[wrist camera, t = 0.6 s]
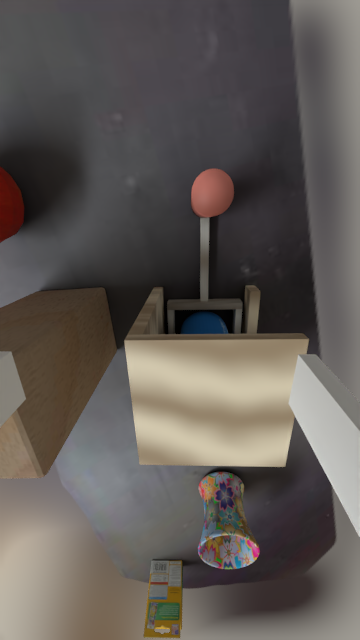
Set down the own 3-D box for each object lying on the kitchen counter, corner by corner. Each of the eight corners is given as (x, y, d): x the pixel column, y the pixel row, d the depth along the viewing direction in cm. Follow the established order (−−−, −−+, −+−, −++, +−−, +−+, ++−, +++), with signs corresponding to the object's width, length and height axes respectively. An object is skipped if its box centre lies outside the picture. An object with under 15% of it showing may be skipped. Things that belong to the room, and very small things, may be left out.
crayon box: (153, 566, 59) (144, 643, 48) (151, 559, 58) (142, 637, 47) (183, 566, 58) (181, 644, 48) (182, 559, 57) (180, 638, 46)
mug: (189, 471, 46) (189, 539, 36) (238, 461, 45) (251, 529, 35) (208, 511, 50) (213, 581, 40) (253, 502, 49) (269, 574, 39)
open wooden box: (153, 287, 33) (124, 340, 18) (254, 285, 32) (309, 339, 18) (159, 369, 38) (139, 464, 23) (247, 369, 37) (284, 466, 22)
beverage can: (235, 331, 35) (256, 383, 24) (201, 358, 37) (206, 417, 26) (205, 299, 33) (213, 338, 22) (171, 329, 35) (162, 378, 24)
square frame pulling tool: (163, 189, 28) (147, 171, 18) (247, 186, 28) (280, 165, 18) (171, 360, 37) (164, 413, 27) (235, 360, 36) (253, 414, 26)
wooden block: (106, 286, 33) (-1, 367, 15) (118, 350, 37) (45, 481, 18) (35, 290, 34) (-152, 374, 15) (54, 353, 38) (-78, 482, 19)
